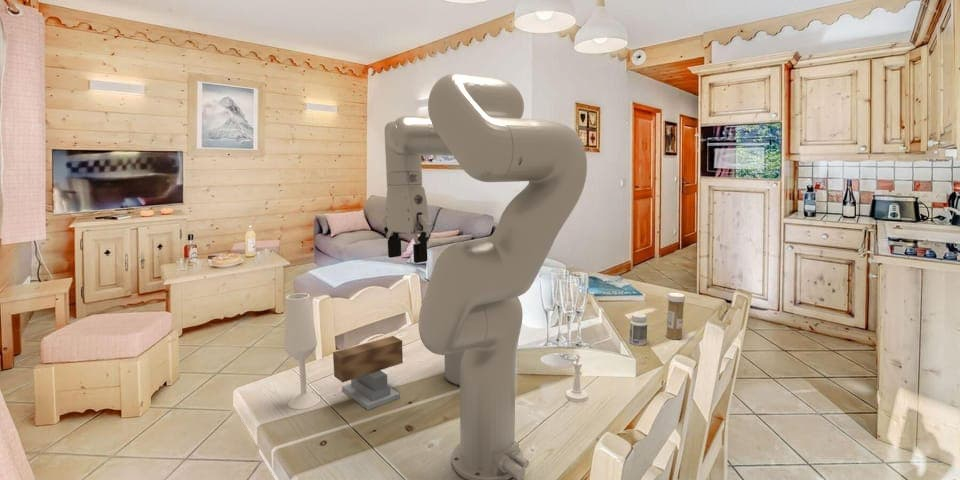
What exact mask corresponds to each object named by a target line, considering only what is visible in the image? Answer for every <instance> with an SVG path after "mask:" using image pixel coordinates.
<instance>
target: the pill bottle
mask: <svg viewBox="0 0 960 480" xmlns="http://www.w3.org/2000/svg"><path fill="white" fill-rule="evenodd" d="M647 335H648V322H647V315H646V314H644V313H641V312H637V313H636V312H635V313H632V314H631V320H630V324H629V343H630V344H632V345H635V346H644V345H646V344H647V340H648V339H647Z"/></svg>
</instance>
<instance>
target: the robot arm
mask: <svg viewBox="0 0 960 480" xmlns="http://www.w3.org/2000/svg"><path fill="white" fill-rule="evenodd" d="M430 90H431V91H430V93H429V95H428V102H427V112H428V116H415V115H414V116H411V115H410V116H409V115H406V116H405V115H403V116H400V117H398V118H396V119H395V120H394V121H389V122H387V123H386V124H385V126H384V144H385V145H384V149H385V152H384V153H385V171H386V172H385V173H386V174H385V175H386V189H387V190H386V200H385V201H386V203H385V204H386V205H385V216H384V217H383V218H382V225H383V228H384V229H383V230H384V232H385V234H386V235H385V238H386V241H387V256H388V258H390V259H391V258H397V257H402V238H399V237H401V234H402V235H403V234H404V235H411V238H412V239H413V241H414V243H413V245H412V246H413V247H412V250H413V252H412V253H413V263H414V264H415V263H416V264H418V263H419V264H420V263H425V262H426V263H427V261H428V244H429V242H430V240H429V239H430V238H431V235H432V230H433V226H434V225H433V223H432V222H431V221H430V219H429V209H428V201H427V196H426V190H425V187H424V186H423V171H422V170H423V169H422V156H453V158H454V159H455V160H456V161H457V163H458V164H459V166H460V167H461V168H462V169H463V171H464V172H465V173H466V174H467V175H469V177H471V178H472V179H474V180H476V181H480V182H482V183H483V182H485V183H507V182H508V183H509V182H510V183H514V182H515V183H516V182H518V183H519V182H528V184H527V185H526V186H525V187H524V188H523V189H522V190H521V191H520V192H519V193H518V194H517V195H515V197H513V198H512V199H511V200H510V201H509V203H507V205H506V206H505V208H504V210H503V212H502V213H501V216H500V219H499V221H498V223H497V226H496V228H495V229H494V231H493V233H492V234H491V235H490V236H488V237H486V238H483V239H479V240H478V239H475V240H469V241H468V240H467V241H461V242H457V243H453V244H451V245H449V246H448V247H446V248H445V249H444V250H443V251H442V252H441V253H440V254H439V256H438V257H437V259H436V261H435V264H434V266H433V269H432V272H431V275H430V278H429V281H428V284H427V287H426V289H425V290H426V291H425V293H424V296H423V299H422V301H421V304H420V309H419V315H418V324H417V325H418V334H419V337H420V340H421V343H422V344H423V346H424V347H425V348H426V349H427V350H428V351H429V352H430V353H433V354H435V355H438V356H440V355H441V356H444V355H447V354H452V353H456V352H460V351H464V350H465V352H464V355H463V357H462V361H461V366H460V385H459V417H460V418H459V423H460V424H459V425H460V427H459V428H460V429H459V430H460V431H459V432H460V434H459V436H460V439H459V441H460V442H459V443H458V444H457V445H456V446H455V448H453V451H452V454H451V465H452V468H453V470H454V471H455V472H456V473H457V474H458V475H459V476H461V478H464V479H465V480H509V479H512V478H515V480H522V479H523V478H524V477H525V474H526V469H527V468H528V466H529V465H530V461H529V460H528V459H526V458H524V453H523V451H522V449H521V447H520V443H519V442H517V441H516V440H515V439H516V437H515V436H516V435H515V434H516V433H515V432H516V431H515V429H516V378H517V377H516V374H517V371H516V370H517V366H516V365H517V351H518V344H519V338H520V334H521V330H522V325H523V306H522V303H521V301H520V298H519V297H520V296H523V295H524V294H526V293H527V292H528V291H529V290H530V288H531V287H532V286H533V284H534V281H535V280H536V278H537V276H538V274H539V272H540V271H541V268H542V267H543V264H544V262H545V260H546V258H547V257H548V255H549V253H550V252H551V249H552V247H553V244H554V243H555V240H556V238H557V236H558V234H559V233H560V231H561V230H562V228H563V227H564V225H565V223H566V221H568V218H569V217H570V215H571V214H572V212H573V211H574V209H575V207H576V206H577V204H578V202H579V200H580V197H581V196H582V194H583V190H584V187H585V184H586V180H587V174H588V173H587V172H588V161H587V154H586V153H587V152H586V149H585V145H584V143H583V141H582V139H581V137H580V136H579V135H578V132H576V130H573V129H572V128H570V126H568V125H566V124H564V123H563V124H562V123H561V122H557V121H552V120H546V119H539V118H538V119H537V118H536V119H535V118H522V117H523V114H524V110H525V102H524V98H523V95H522V94H521V92H520V91H519V89H518V88H517V87H516V86H515V85H514V84H512V83H511V82H508V81H507V80H505V79H501V78H496V77H491V76H490V77H489V76H480V75H472V74H471V75H470V74H463V73H451V74H446V75H444V76H443V77H441V78H439V79H438V80H437V81H436V82H435V84H434V85H433V87H432V88H431V89H430ZM418 235H419V236H418Z"/></svg>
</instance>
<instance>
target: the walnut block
mask: <svg viewBox="0 0 960 480" xmlns="http://www.w3.org/2000/svg"><path fill="white" fill-rule="evenodd" d="M332 359H333V376H334V377H335V378H336V379H338V380H339V381H340V382H341V383H345V382H348V381H351V380H352V379H355V378H358V377H361V376H364V375H367V374H370V373H373V372H377V371H380V370H381V371H382V370H386V369H389V368H391V367H395V366H398V365H401V364H403V363H404V359H403V340H402V339H400V338H398V337H396V336H394V335H391V336H388V337H384V338H381V339H376V340H373V341H369V342H366V343H362V344H359V345H355V346H351V347H347V348H343V349H341V350H340V349H339V350H337V351H333V352H332Z"/></svg>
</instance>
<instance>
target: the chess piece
mask: <svg viewBox="0 0 960 480" xmlns="http://www.w3.org/2000/svg"><path fill="white" fill-rule="evenodd" d="M580 359H581V356H580V354H578V353H577V354H576V356H575V359H574V361H573V362H572V364H573V369H574V370H573V371H572V375H574V380H573V386H572V388H570V389H567V390H566V391H565V398H566V399H567V400H569V401H571V402H576V403H580V402H585V401H587V400H588V397H589V396H588V393H587V391H585V390H584V389H582V388H581V380H580V379H581V378H580V376H582V375H583V372H582V371H581V368H582V366H583V362H582V361H580Z"/></svg>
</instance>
